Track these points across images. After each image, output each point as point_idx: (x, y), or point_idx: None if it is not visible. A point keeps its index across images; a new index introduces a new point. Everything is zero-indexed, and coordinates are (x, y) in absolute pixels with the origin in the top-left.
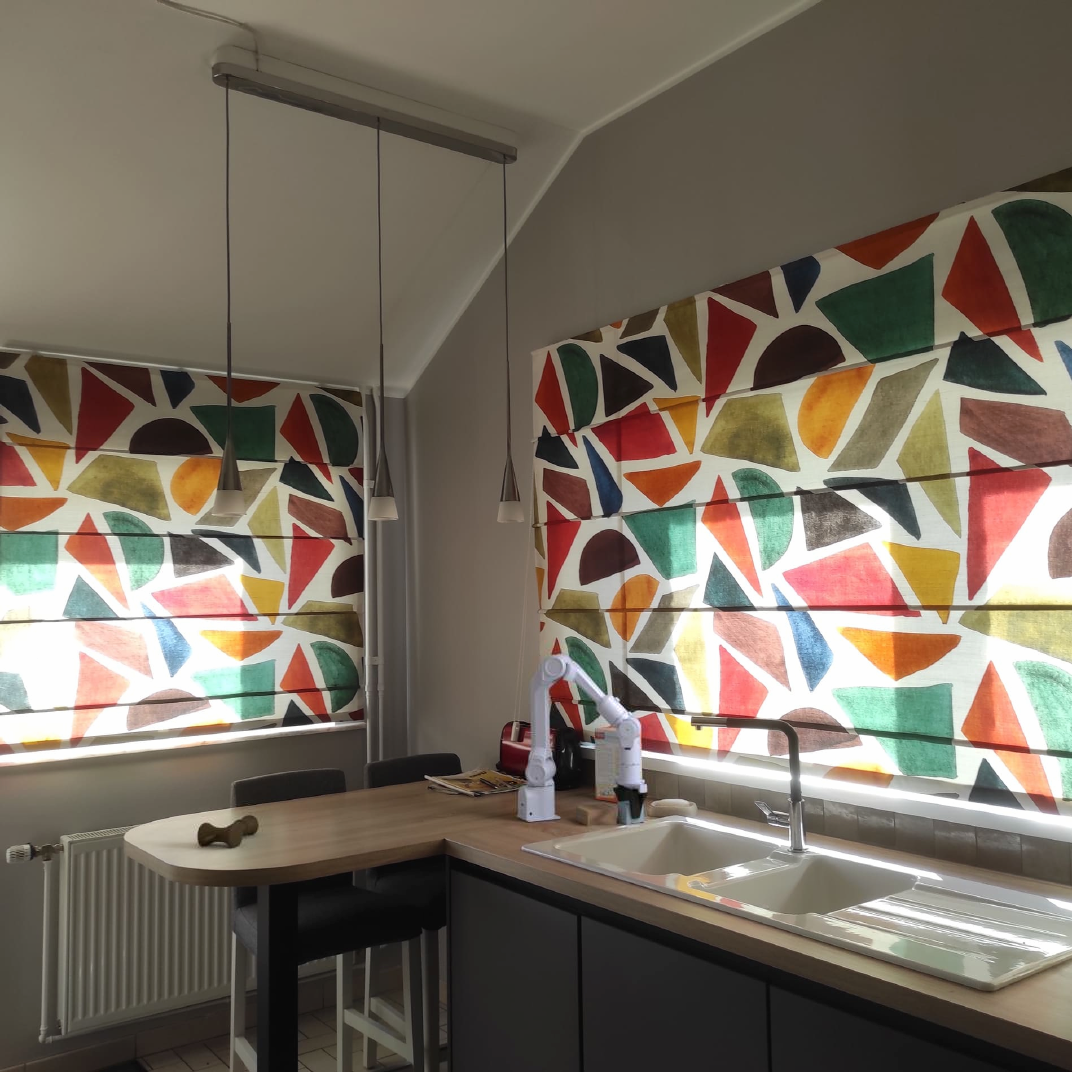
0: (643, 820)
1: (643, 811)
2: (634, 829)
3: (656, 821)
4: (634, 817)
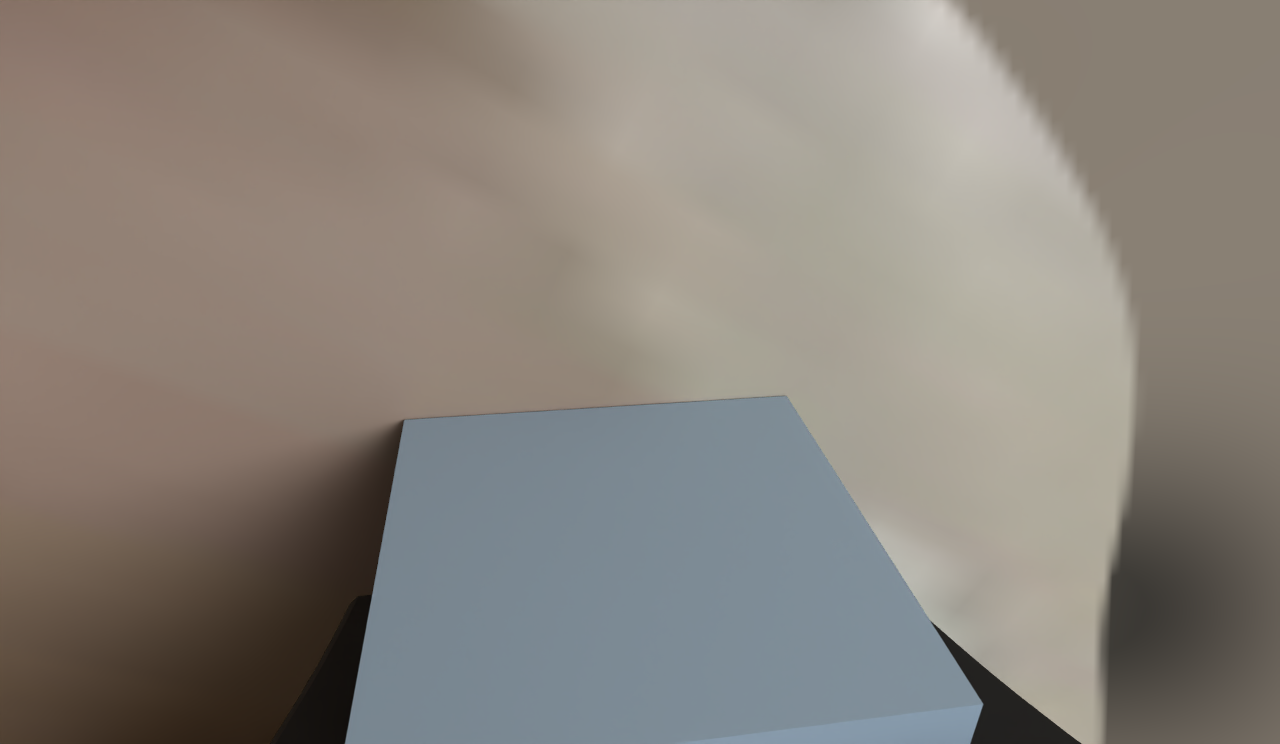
0: (799, 424)
1: (874, 537)
2: (1054, 660)
3: (806, 90)
4: None
